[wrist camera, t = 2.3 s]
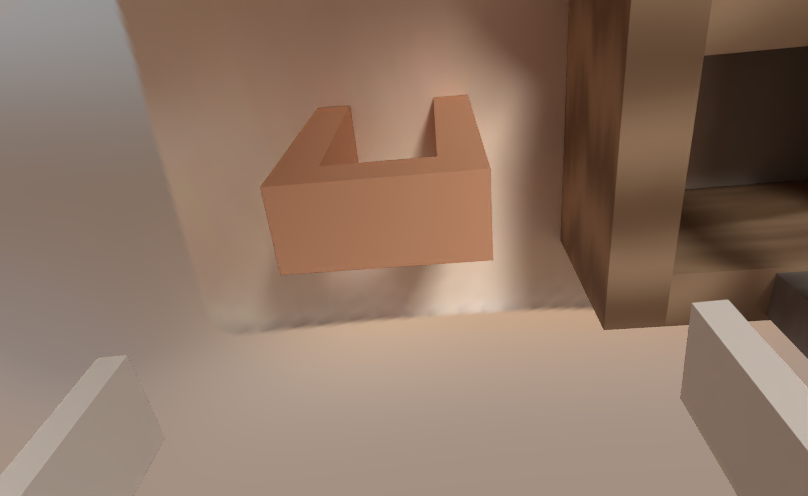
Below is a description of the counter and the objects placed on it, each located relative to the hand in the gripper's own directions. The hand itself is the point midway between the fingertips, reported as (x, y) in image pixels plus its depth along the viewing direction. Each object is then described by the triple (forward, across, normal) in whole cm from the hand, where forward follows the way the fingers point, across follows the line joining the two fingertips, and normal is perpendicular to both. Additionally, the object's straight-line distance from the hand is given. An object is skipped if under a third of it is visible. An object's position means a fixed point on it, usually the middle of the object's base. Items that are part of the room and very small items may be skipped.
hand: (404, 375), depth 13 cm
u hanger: (+23, -1, 0) cm, 23 cm away
